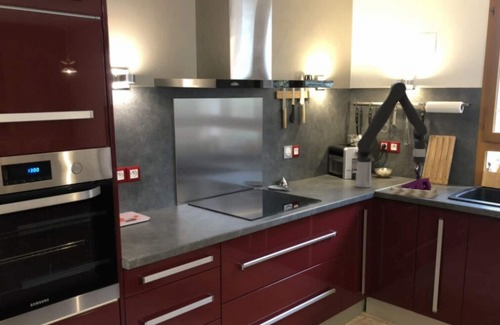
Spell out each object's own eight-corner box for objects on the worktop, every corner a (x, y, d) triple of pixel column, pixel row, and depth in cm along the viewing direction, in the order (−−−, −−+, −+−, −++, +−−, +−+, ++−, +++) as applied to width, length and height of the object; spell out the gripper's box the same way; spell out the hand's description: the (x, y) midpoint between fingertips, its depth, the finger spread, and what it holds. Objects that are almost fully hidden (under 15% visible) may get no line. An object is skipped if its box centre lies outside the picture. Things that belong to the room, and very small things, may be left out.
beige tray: (390, 193, 282) (390, 187, 282) (396, 189, 294) (396, 183, 294) (432, 198, 269) (433, 191, 269) (436, 193, 281) (437, 187, 281)
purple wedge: (401, 199, 294) (422, 192, 279) (397, 187, 296) (418, 179, 281) (411, 197, 298) (432, 190, 283) (407, 185, 300) (428, 177, 285)
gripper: (415, 154, 304) (414, 179, 306) (411, 156, 292) (410, 182, 295) (427, 154, 300) (426, 180, 302) (423, 156, 289) (422, 183, 291)
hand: (418, 181), depth 298 cm, fingers closed
